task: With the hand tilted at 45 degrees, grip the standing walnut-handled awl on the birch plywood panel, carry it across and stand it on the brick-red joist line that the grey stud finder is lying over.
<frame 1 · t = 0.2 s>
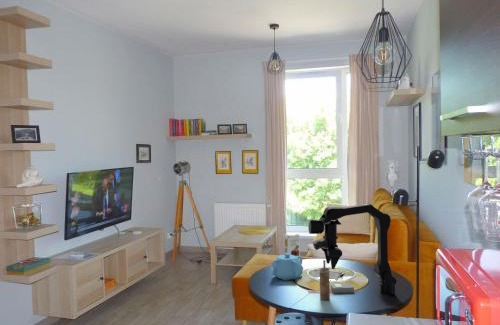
hand: (330, 266, 188), 15 cm above the table, tool pointing down, fingers open, 9 cm apart
plywood panel: (332, 297, 187), on the table
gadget: (327, 278, 218), on the table
juice carton: (292, 264, 245), on the table
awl: (324, 299, 182), point 1 cm above the table, touching plywood panel
stud finder: (342, 290, 192), point 1 cm above the table, touching plywood panel
decorative pot: (287, 278, 218), on the table
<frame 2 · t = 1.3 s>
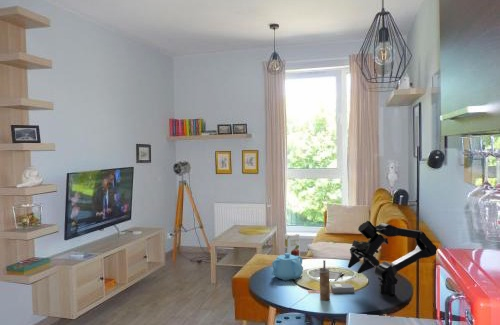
hand: (353, 270, 185), 13 cm above the table, tool tilted 45°, fingers open, 9 cm apart
nothing on the table moved.
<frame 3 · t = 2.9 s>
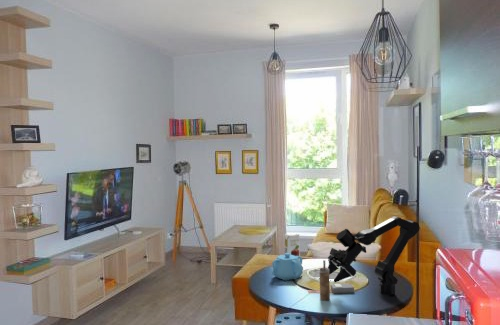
hand: (329, 278, 182), 10 cm above the table, tool tilted 45°, fingers open, 9 cm apart
nothing on the table moved.
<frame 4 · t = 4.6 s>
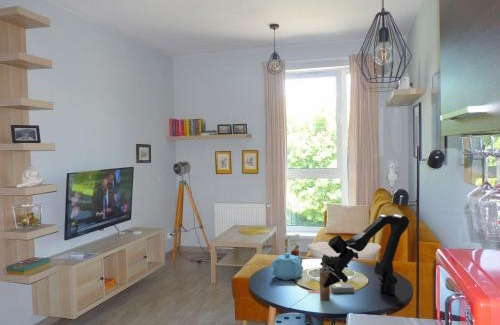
hand: (321, 285, 181), 8 cm above the table, tool tilted 45°, fingers closed on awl, 4 cm apart
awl: (324, 299, 182), point 1 cm above the table, touching gripper, plywood panel
everything else where it was.
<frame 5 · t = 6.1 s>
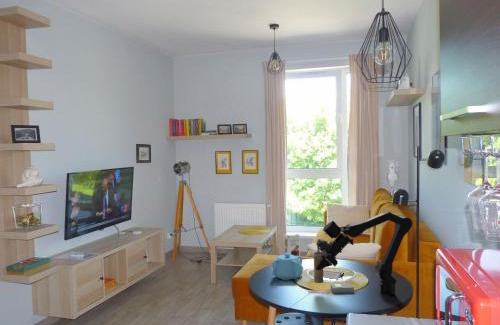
hand: (315, 268, 189), 13 cm above the table, tool tilted 45°, fingers closed on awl, 4 cm apart
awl: (318, 281, 189), point 7 cm above the table, touching gripper
everything else where it was.
when the fingers open (9 cm above the table, at t = 7.7 s): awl stays where it is, resting on plywood panel.
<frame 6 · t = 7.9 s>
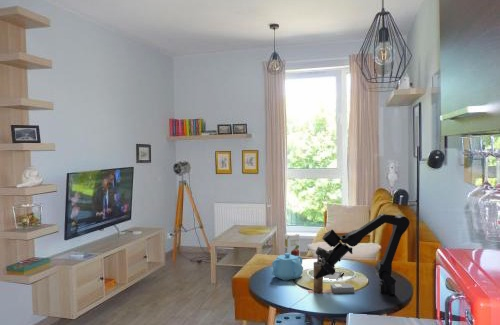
hand: (314, 275, 192), 9 cm above the table, tool tilted 45°, fingers open, 6 cm apart
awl: (318, 291, 192), point 1 cm above the table, touching plywood panel
everything else where it was.
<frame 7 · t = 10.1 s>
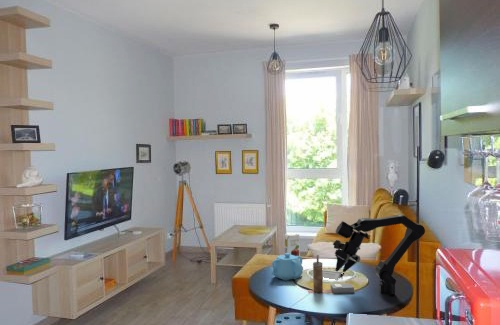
hand: (340, 271, 190), 12 cm above the table, tool tilted 30°, fingers open, 9 cm apart
nothing on the table moved.
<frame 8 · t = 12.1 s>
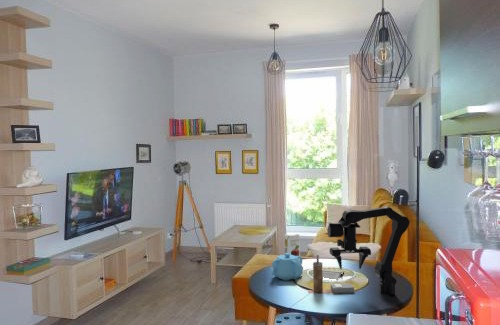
hand: (350, 269, 188), 13 cm above the table, tool pointing down, fingers open, 9 cm apart
nothing on the table moved.
at the end: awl inside the target area (0.1 cm from its centre), point 1.3 cm above the table; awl tilted 0°; the gripper is holding nothing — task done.
